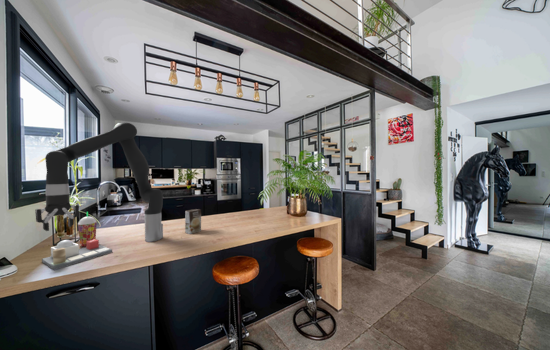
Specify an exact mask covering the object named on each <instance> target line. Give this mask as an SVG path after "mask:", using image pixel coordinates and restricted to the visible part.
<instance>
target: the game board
mask: <svg viewBox="0 0 550 350" xmlns="http://www.w3.org/2000/svg"><path fill="white" fill-rule="evenodd" d="M79 245H80V244H78V243H76V242H73V246H70V247H66V248H65V253H66V261H65V262H63V263H60V264H53V250H55V249H56V246H57V245H55V246H51V247H50V256H48V257H44V258H41V262H42V264H43V265H46V266H48V267H49V268H50V269H51V270H54V271H55V270H58V269H62V268H65V267H68V266H72V265H75V264H77V263H78V264H79V263H81V262H85V261H88V260H91V259H94V257H95V258H98V257H100V256H104V255H108V254H110V253H113V249H112V248H109V247H108V246H104V245H101V244H100V242H99V239H94V240H90V241H86V246H84V247H81V248H80V246H79ZM97 256H98V257H97Z"/></svg>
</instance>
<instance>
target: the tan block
mask: <svg viewBox="0 0 550 350" xmlns="http://www.w3.org/2000/svg"><path fill="white" fill-rule="evenodd" d="M65 261H66V253H65V248H59V249H55V250H53V264H60V263H63V262H65Z"/></svg>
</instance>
